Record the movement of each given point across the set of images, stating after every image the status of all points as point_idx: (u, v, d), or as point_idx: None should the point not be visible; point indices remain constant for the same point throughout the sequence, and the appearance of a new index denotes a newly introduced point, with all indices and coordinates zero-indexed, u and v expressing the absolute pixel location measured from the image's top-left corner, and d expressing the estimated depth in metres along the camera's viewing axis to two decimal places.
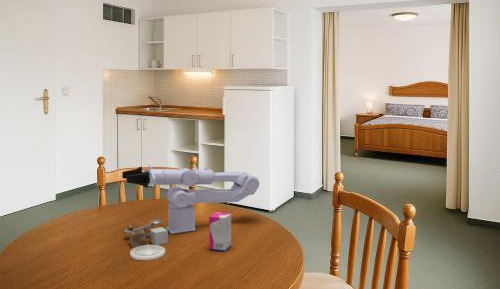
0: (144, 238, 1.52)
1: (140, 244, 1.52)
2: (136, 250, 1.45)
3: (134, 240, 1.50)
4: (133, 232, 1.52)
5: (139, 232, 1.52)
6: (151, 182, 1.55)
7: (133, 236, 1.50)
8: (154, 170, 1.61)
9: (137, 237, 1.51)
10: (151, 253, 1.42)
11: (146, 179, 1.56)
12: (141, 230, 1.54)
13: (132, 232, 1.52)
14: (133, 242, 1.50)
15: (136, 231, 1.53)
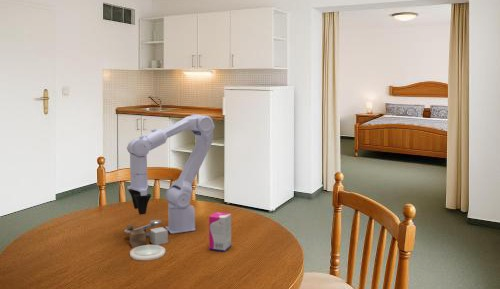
0: (144, 238, 1.52)
1: (140, 244, 1.52)
2: (136, 250, 1.45)
3: (134, 241, 1.50)
4: (132, 232, 1.52)
5: (139, 232, 1.52)
6: (145, 194, 1.52)
7: (133, 236, 1.50)
8: (132, 184, 1.56)
9: (137, 237, 1.51)
10: (151, 253, 1.42)
11: (142, 196, 1.54)
12: (141, 230, 1.54)
13: (132, 232, 1.52)
14: (133, 242, 1.50)
15: (136, 231, 1.53)
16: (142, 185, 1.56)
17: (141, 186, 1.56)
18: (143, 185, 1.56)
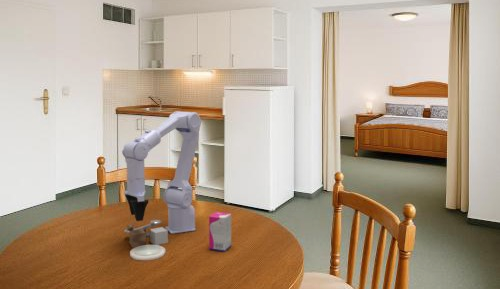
0: (144, 238, 1.52)
1: (140, 244, 1.52)
2: (136, 250, 1.45)
3: (134, 240, 1.50)
4: (132, 232, 1.52)
5: (139, 232, 1.52)
6: (142, 200, 1.45)
7: (133, 236, 1.50)
8: (129, 189, 1.49)
9: (137, 237, 1.51)
10: (151, 253, 1.42)
11: (139, 202, 1.47)
12: (141, 230, 1.54)
13: (132, 232, 1.52)
14: (133, 242, 1.50)
15: (136, 231, 1.53)
16: (140, 190, 1.49)
17: (138, 191, 1.48)
18: (140, 190, 1.49)
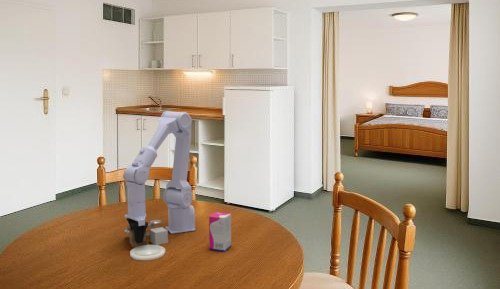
0: (144, 238, 1.52)
1: (140, 244, 1.52)
2: (136, 250, 1.45)
3: (134, 240, 1.50)
4: (132, 232, 1.52)
5: None
6: (143, 224, 1.46)
7: (133, 236, 1.50)
8: (129, 213, 1.50)
9: None
10: (151, 253, 1.42)
11: (139, 225, 1.49)
12: None
13: (132, 232, 1.52)
14: (133, 242, 1.50)
15: None
16: (140, 214, 1.50)
17: (139, 215, 1.50)
18: (141, 214, 1.50)
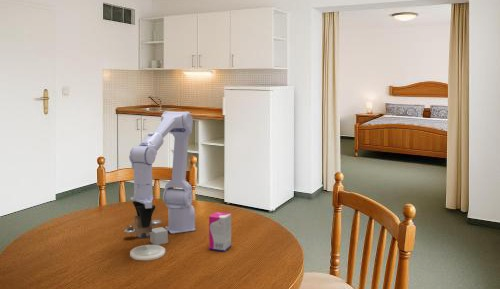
0: (150, 224, 1.44)
1: (146, 230, 1.44)
2: (136, 250, 1.45)
3: (139, 226, 1.43)
4: (138, 218, 1.44)
5: None
6: (150, 206, 1.38)
7: (138, 221, 1.43)
8: (136, 195, 1.42)
9: None
10: (151, 253, 1.42)
11: (146, 208, 1.41)
12: None
13: (137, 217, 1.45)
14: (138, 228, 1.43)
15: None
16: (147, 196, 1.42)
17: (146, 197, 1.42)
18: (148, 196, 1.42)
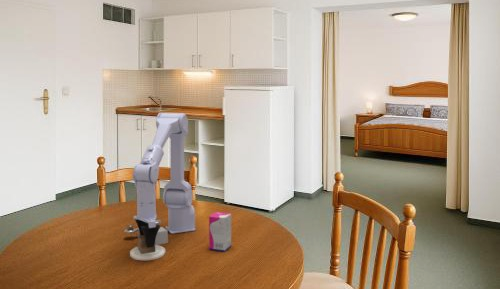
0: None
1: (149, 250, 1.43)
2: (136, 250, 1.45)
3: (143, 246, 1.42)
4: (141, 237, 1.43)
5: None
6: (154, 226, 1.37)
7: (142, 241, 1.41)
8: (139, 214, 1.41)
9: None
10: (151, 253, 1.42)
11: None
12: None
13: (141, 237, 1.43)
14: (142, 248, 1.42)
15: None
16: (151, 215, 1.41)
17: (149, 216, 1.41)
18: (151, 215, 1.41)
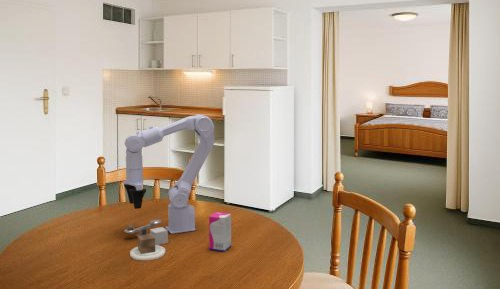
0: (153, 243, 1.43)
1: (149, 250, 1.43)
2: (136, 250, 1.45)
3: (143, 246, 1.42)
4: (141, 237, 1.43)
5: (148, 237, 1.44)
6: (141, 188, 1.56)
7: (142, 241, 1.41)
8: (128, 179, 1.59)
9: (146, 242, 1.42)
10: (151, 253, 1.42)
11: None
12: (150, 235, 1.46)
13: (141, 237, 1.43)
14: (142, 248, 1.42)
15: (145, 236, 1.45)
16: (138, 180, 1.59)
17: (136, 181, 1.59)
18: (138, 180, 1.59)
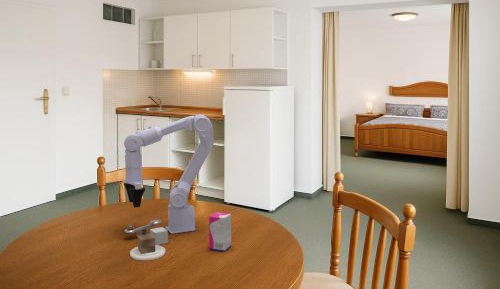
0: (153, 243, 1.43)
1: (149, 250, 1.43)
2: (136, 250, 1.45)
3: (143, 246, 1.42)
4: (141, 237, 1.43)
5: (148, 237, 1.44)
6: (140, 187, 1.57)
7: (142, 241, 1.41)
8: (127, 178, 1.61)
9: (146, 242, 1.42)
10: (151, 253, 1.42)
11: None
12: (150, 235, 1.46)
13: (141, 237, 1.43)
14: (142, 248, 1.42)
15: (145, 236, 1.45)
16: (137, 179, 1.61)
17: (136, 180, 1.61)
18: (138, 179, 1.61)
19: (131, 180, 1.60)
